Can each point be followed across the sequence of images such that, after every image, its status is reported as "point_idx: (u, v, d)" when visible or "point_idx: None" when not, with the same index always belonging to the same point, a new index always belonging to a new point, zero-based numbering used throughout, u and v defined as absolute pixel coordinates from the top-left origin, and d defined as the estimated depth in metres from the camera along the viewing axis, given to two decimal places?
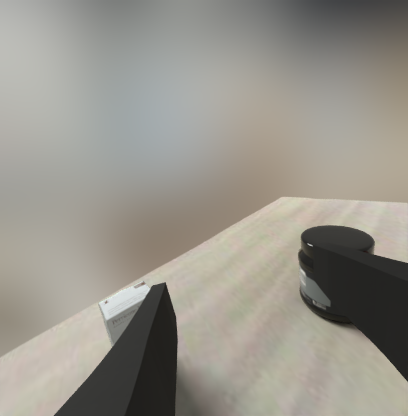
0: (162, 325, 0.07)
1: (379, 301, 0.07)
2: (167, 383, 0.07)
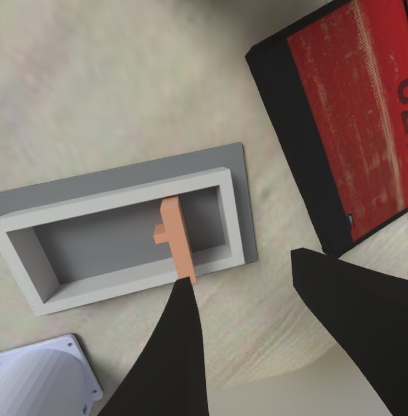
0: (192, 317, 0.07)
1: (349, 310, 0.07)
2: (200, 373, 0.07)
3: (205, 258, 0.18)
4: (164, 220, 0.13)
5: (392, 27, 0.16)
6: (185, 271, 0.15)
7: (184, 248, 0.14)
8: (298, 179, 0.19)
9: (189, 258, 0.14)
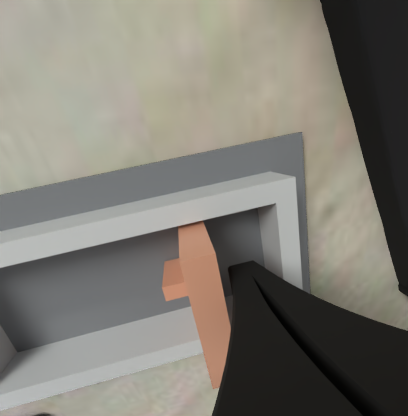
0: None
1: None
2: None
3: None
4: (187, 281, 0.07)
5: None
6: (222, 364, 0.08)
7: (222, 327, 0.07)
8: (382, 190, 0.13)
9: None
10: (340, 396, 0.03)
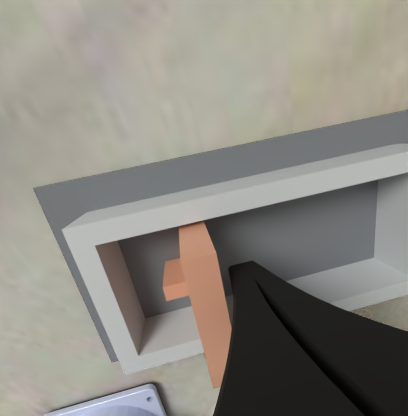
0: None
1: None
2: None
3: (365, 280, 0.12)
4: (188, 280, 0.07)
5: None
6: (223, 364, 0.08)
7: (223, 327, 0.08)
8: None
9: None
10: (341, 395, 0.03)
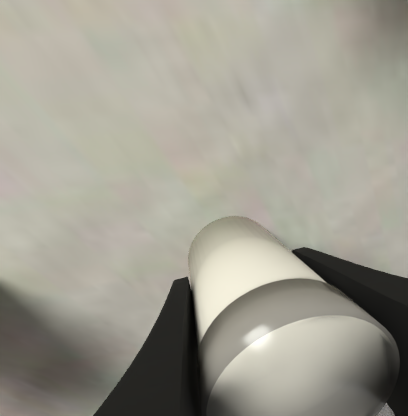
0: (190, 317, 0.07)
1: None
2: None
3: None
4: None
5: None
6: None
7: None
8: None
9: None
10: None
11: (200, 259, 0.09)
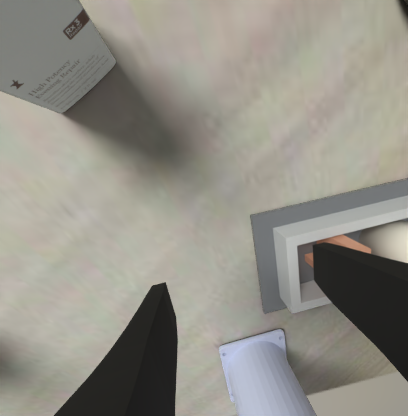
0: (162, 325, 0.07)
1: (379, 301, 0.07)
2: (167, 383, 0.07)
3: None
4: None
5: None
6: None
7: None
8: None
9: None
10: None
11: (387, 235, 0.20)
